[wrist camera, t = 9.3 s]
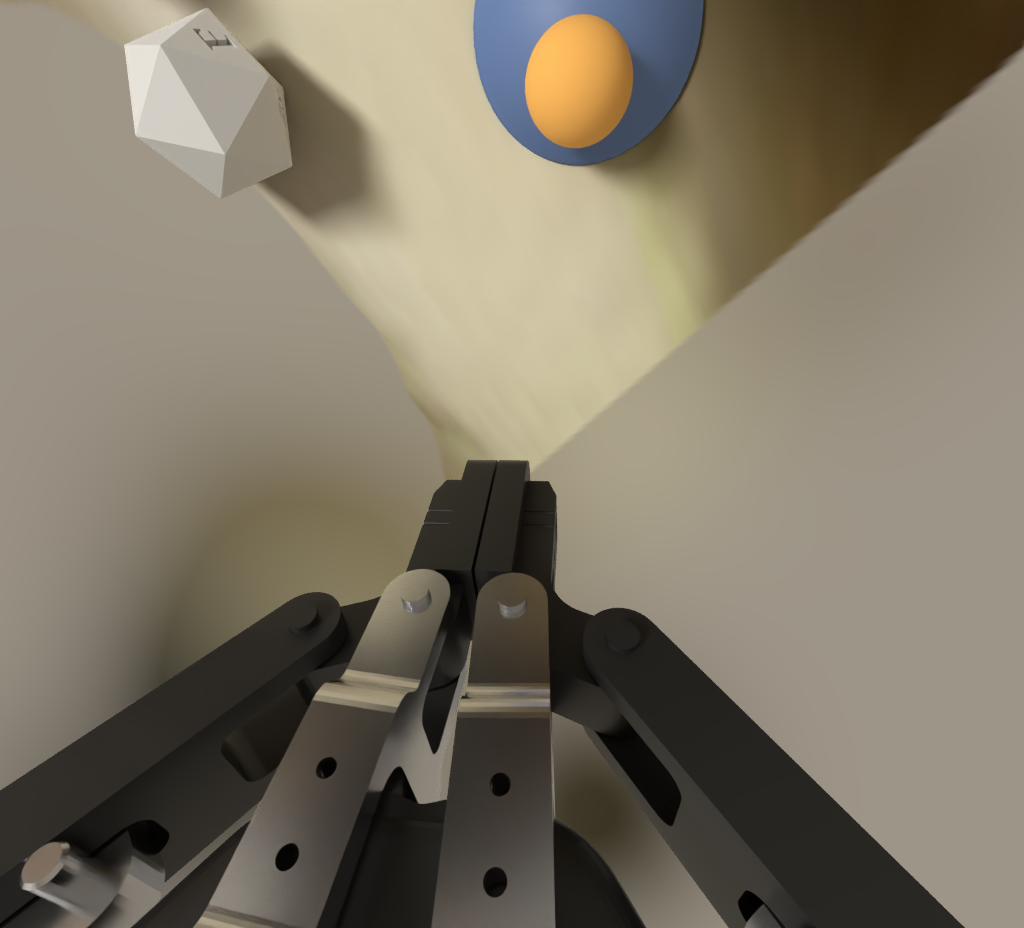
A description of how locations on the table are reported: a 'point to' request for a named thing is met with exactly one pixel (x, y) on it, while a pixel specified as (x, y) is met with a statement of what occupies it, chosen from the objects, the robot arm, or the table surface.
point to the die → (208, 104)
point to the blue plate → (649, 37)
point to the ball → (579, 81)
